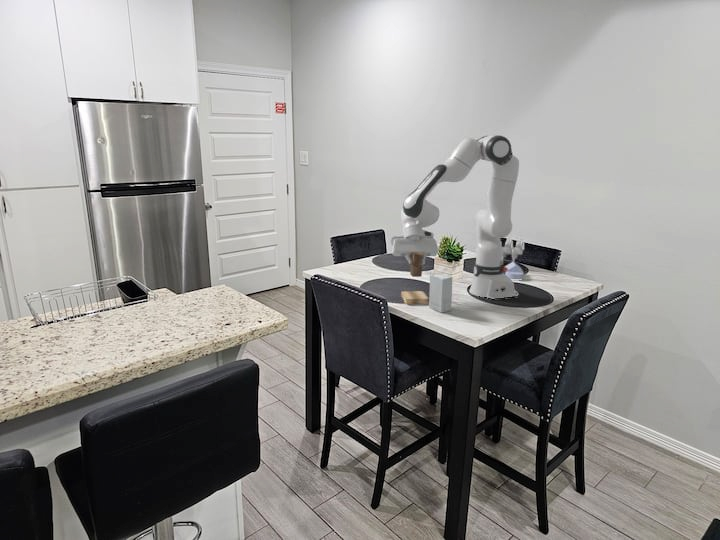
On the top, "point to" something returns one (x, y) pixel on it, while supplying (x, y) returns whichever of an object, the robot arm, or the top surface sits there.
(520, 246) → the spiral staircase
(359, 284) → the top surface
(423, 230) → the robot arm
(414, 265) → the walnut post
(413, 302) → the oak slab
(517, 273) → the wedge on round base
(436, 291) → the skincare box
